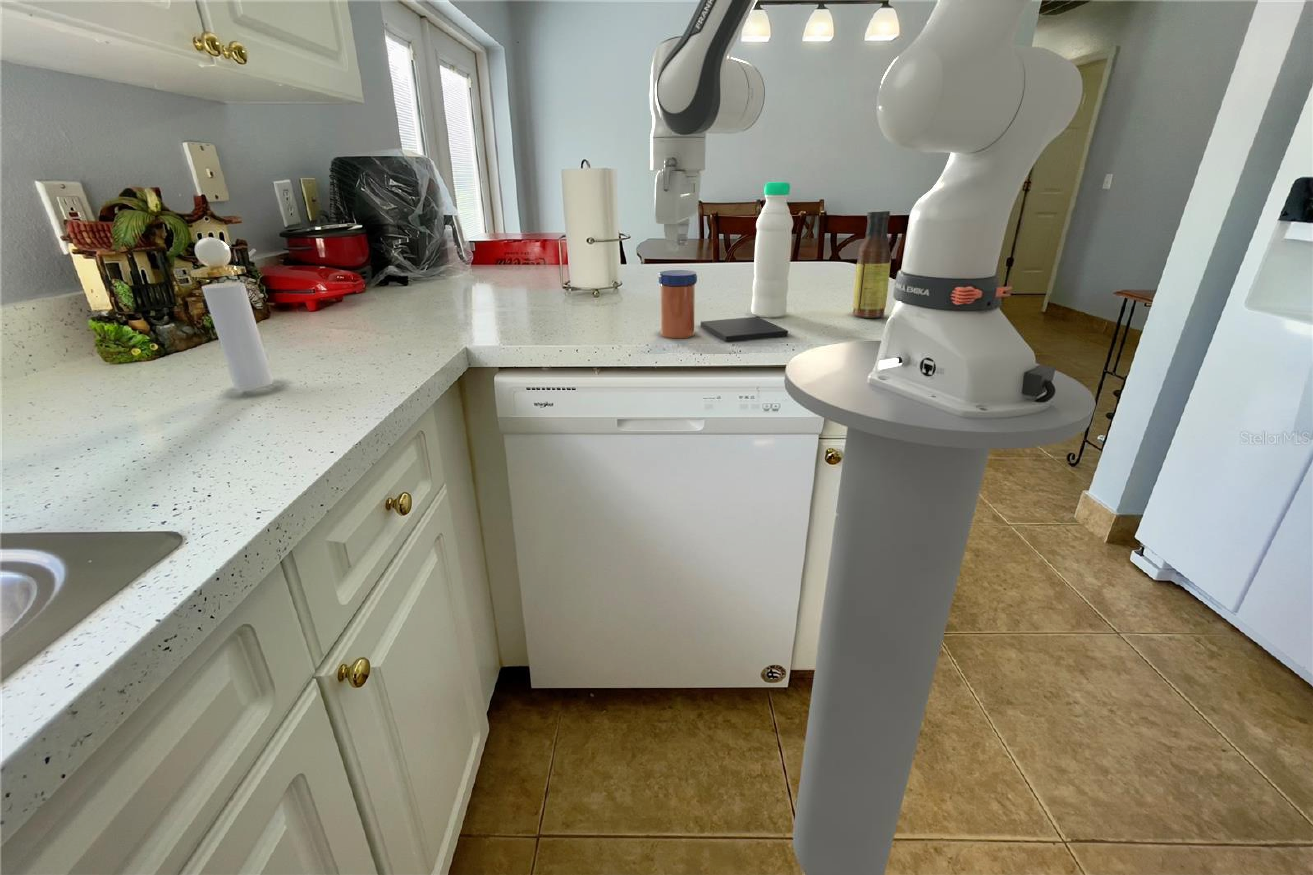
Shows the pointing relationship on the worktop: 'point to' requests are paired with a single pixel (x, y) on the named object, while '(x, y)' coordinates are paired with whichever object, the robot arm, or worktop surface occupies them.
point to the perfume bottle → (232, 317)
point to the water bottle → (772, 253)
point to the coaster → (743, 329)
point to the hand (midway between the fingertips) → (677, 248)
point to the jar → (677, 311)
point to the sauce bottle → (873, 268)
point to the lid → (678, 277)
